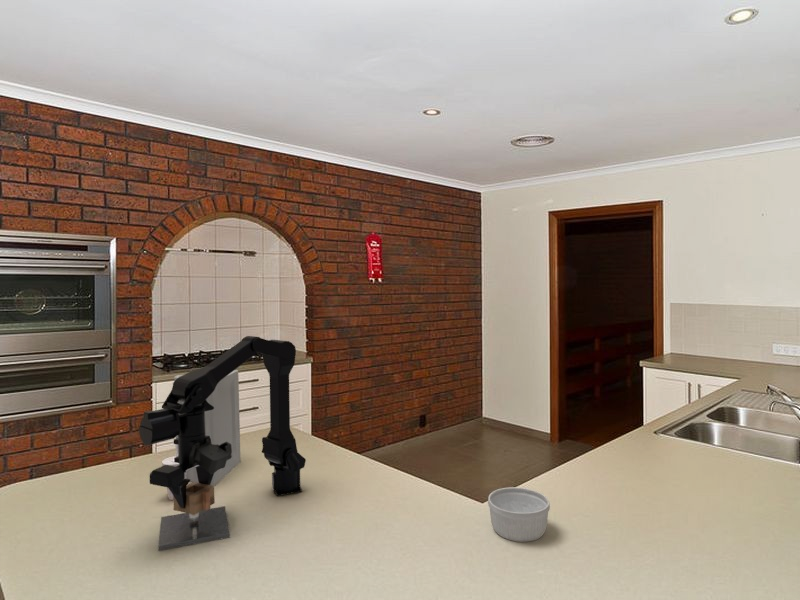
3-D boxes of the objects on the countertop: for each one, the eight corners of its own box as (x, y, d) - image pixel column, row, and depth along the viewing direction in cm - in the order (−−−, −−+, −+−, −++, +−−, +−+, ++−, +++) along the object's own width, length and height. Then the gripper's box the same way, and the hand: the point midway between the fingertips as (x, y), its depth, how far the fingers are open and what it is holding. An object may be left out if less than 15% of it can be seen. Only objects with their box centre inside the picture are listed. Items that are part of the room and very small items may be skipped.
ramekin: (514, 551, 106) (514, 518, 105) (476, 524, 117) (475, 494, 117) (562, 536, 112) (562, 504, 111) (521, 511, 123) (521, 482, 123)
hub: (225, 510, 125) (224, 492, 125) (229, 537, 112) (229, 516, 112) (161, 521, 120) (160, 502, 120) (158, 550, 107) (157, 529, 107)
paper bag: (194, 460, 160) (192, 369, 158) (241, 461, 159) (239, 370, 157) (161, 485, 141) (157, 382, 139) (214, 486, 140) (211, 383, 138)
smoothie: (180, 503, 129) (178, 448, 129) (157, 501, 131) (155, 446, 130) (195, 492, 136) (193, 439, 135) (173, 490, 137) (171, 438, 136)
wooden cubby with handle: (194, 499, 120) (193, 482, 120) (218, 503, 117) (217, 486, 117) (173, 510, 114) (173, 492, 114) (198, 515, 112) (197, 497, 111)
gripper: (187, 451, 103) (190, 527, 104) (248, 425, 121) (250, 491, 121) (146, 444, 108) (149, 518, 109) (211, 420, 125) (213, 484, 126)
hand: (193, 502), depth 116 cm, fingers closed on wooden cubby with handle, 6 cm apart
